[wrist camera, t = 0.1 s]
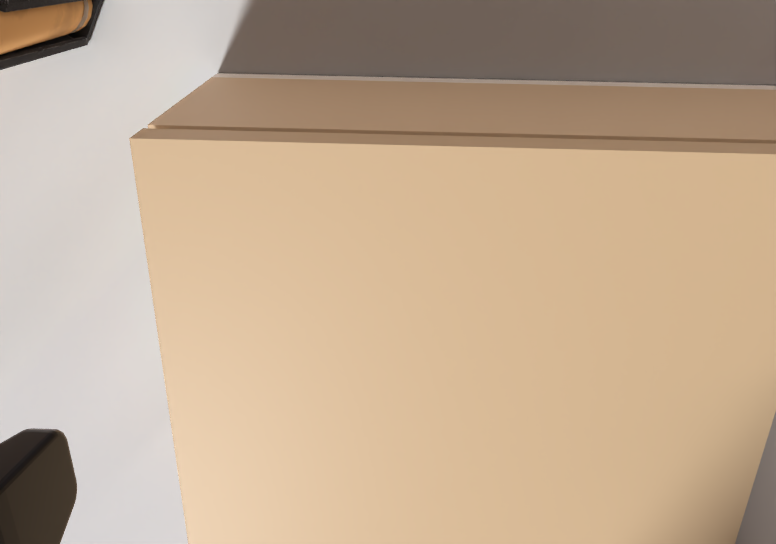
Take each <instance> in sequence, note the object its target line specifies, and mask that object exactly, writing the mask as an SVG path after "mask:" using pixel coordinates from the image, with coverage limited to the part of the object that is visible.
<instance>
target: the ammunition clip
mask: <svg viewBox="0 0 776 544" xmlns="http://www.w3.org/2000/svg"><path fill="white" fill-rule="evenodd" d="M102 2H103V0H0V70H2V69H5V68H9V67H12V66H16V65H19V64H23V63H26V62H30V61H33V60H36V59H40V58H43V57H47V56H50V55H54V54H57V53H61V52H64V51H68V50H71V49H75V48H78V47H81V46H85V45H88V42H89V39H90V36H91V33H92V30H93V27H94V25H95V22H96V19H97V16H98V13H99V10H100V7H101V5H102Z"/></svg>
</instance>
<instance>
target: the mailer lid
mask: <svg viewBox="0 0 776 544" xmlns="http://www.w3.org/2000/svg"><path fill="white" fill-rule="evenodd" d="M129 139H130V146H131V153H132V159H133V166H134V173H135V180H136V187H137V194H138V201H139V208H140V214H141V221H142V228H143V235H144V242H145V249H146V256H147V263H148V269H149V276H150V283H151V290H152V297H153V304H154V311H155V318H156V324H157V331H158V338H159V345H160V352H161V359H162V366H163V373H164V379H165V386H166V393H167V400H168V407H169V414H170V421H171V428H172V434H173V441H174V448H175V455H176V462H177V469H178V476H179V483H180V489H181V496H182V503H183V510H184V517H185V524H186V531H187V538H188V544H776V144H768V143H727V142H685V141H644V140H603V139H561V138H520V137H479V136H437V135H396V134H355V133H314V132H272V131H231V130H190V129H148V128H143V129H141V130H140V131H139V132H137V133H136V134H135V135H133V136H132V137H131V138H129Z"/></svg>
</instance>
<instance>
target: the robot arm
mask: <svg viewBox="0 0 776 544" xmlns="http://www.w3.org/2000/svg"><path fill="white" fill-rule="evenodd" d="M76 494H77V482H76V477H75V473H74V468H73V464H72V459H71V455H70V451H69V446H68V442H67V439H66V436H65V435H64V433H63V432H61V431H59V430H57V429H26V430H23V431H21V432H19V433H18V434H16V435H14V436H12V437H11V438H9V439H7V440H6V441H4V442H2V443H0V544H60V542H61V539H62V537H63V534H64V531H65V528H66V526H67V523H68V520H69V518H70V515H71V512H72V509H73V507H74V504H75V500H76Z"/></svg>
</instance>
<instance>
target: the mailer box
mask: <svg viewBox="0 0 776 544" xmlns="http://www.w3.org/2000/svg"><path fill="white" fill-rule="evenodd" d="M148 129H190V130H231V131H272V132H314V133H355V134H396V135H437V136H479V137H520V138H561V139H603V140H644V141H685V142H727V143H768V144H776V86H769V85H724V84H679V83H633V82H588V81H543V80H497V79H452V78H407V77H362V76H316V75H271V74H226V73H217V74H216V75H214V76H213V77H211V78H210V79H209V80H207V81H206V82H205V83H203V84H202V85H201V86H199V87H198V88H197V89H195V90H194V91H193V92H191V93H190V94H189V95H187V96H186V97H185V98H183V99H182V100H180V101H179V102H178V103H176V104H175V105H174V106H172V107H171V108H170V109H168V110H167V111H166V112H164V113H163V114H162V115H160V116H159V117H158V118H156V119H155V120H154V121H152V122H151V123H150V124H148Z"/></svg>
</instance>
